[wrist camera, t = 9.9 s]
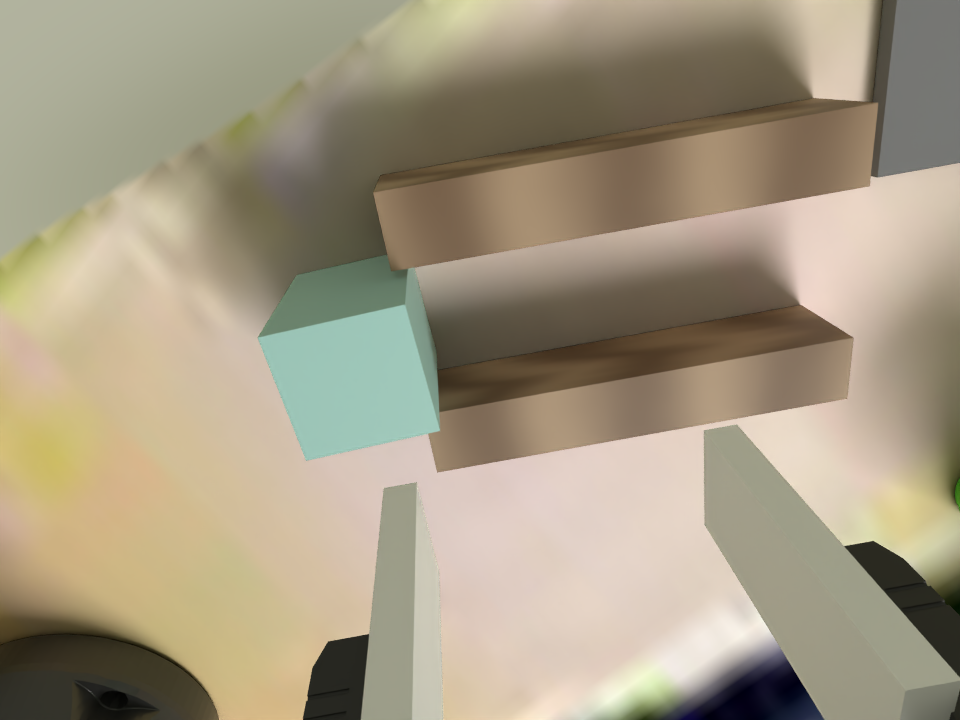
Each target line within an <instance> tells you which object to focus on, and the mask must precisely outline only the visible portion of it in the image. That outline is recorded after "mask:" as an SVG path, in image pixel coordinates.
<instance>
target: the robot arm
mask: <svg viewBox="0 0 960 720" xmlns="http://www.w3.org/2000/svg"><path fill="white" fill-rule="evenodd" d="M704 512H705V526H706V528H707V529H708V531H709V533H710V534H711V536H712V538H713V539H714V541H715V542H716V544H717V546H718V547H719V549H720V551H721V552H722V554H723V555H724V557H725V559H726V560H727V562H728V563H729V565H730V567H731V568H732V570H733V572H734V573H735V575H736V576H737V578H738V580H739V581H740V583H741V585H742V586H743V588H744V589H745V591H746V593H747V594H748V596H749V598H750V599H751V601H752V602H753V604H754V606H755V607H756V609H757V611H758V612H759V614H760V615H761V617H762V619H763V620H764V622H765V624H766V625H767V627H768V628H769V630H770V632H771V633H772V635H773V637H774V638H775V640H776V641H777V643H778V645H779V646H780V648H781V650H782V651H783V653H784V654H785V656H786V658H787V659H788V661H789V663H790V664H791V666H792V667H793V669H794V671H795V672H796V674H797V675H798V677H799V679H800V680H801V682H802V684H803V685H804V687H805V688H806V690H807V692H808V693H809V695H810V697H811V698H812V700H813V701H814V703H815V705H816V706H817V708H818V710H819V711H820V713H821V714H822V716H823V718H824V719H825V720H960V616H959V615H958V614H957V613H956V612H955V611H954V610H953V609H952V608H951V607H950V606H949V605H948V606H947V605H946V604H945V602H944V599H943V598H942V597H941V596H940V595H939V594H938V593H937V592H936V591H935V590H934V589H933V588H932V587H931V586H927V584H926V581H925V580H924V579H923V578H922V577H921V576H920V575H919V574H918V573H917V572H916V571H915V570H914V569H913V568H912V567H911V566H910V565H909V564H908V563H907V562H906V561H905V560H904V559H903V558H901V557H900V556H898V555H896V554H895V553H893V552H891V551H890V550H888V549H886V548H884V547H883V546H881V545H879V544H878V543H876V542H874V541H871V542H865V543H860V544H854V545H849V546H843V545H842V543H841V542H840V541H839V540H838V539H837V538H836V537H835V535H834V534H833V533H832V532H831V531H830V530H829V529H828V528H827V526H826V525H825V524H824V523H823V522H822V521H821V520H820V518H819V517H818V516H817V515H816V514H815V513H814V512H813V510H812V509H811V508H810V507H809V506H808V505H807V504H806V503H805V501H804V500H803V499H802V498H801V497H800V496H799V495H798V493H797V492H796V491H795V490H794V489H793V488H792V487H791V486H790V484H789V483H788V482H787V481H786V480H785V479H784V478H783V476H782V475H781V474H780V473H779V472H778V471H777V470H776V469H775V467H774V466H773V465H772V464H771V463H770V462H769V461H768V459H767V458H766V457H765V456H764V455H763V454H762V453H761V451H760V450H759V449H758V448H757V447H756V446H755V445H754V444H753V442H752V441H751V440H750V439H749V438H748V437H747V436H746V434H745V433H744V432H743V431H742V430H741V429H740V428H739V427H738V425H732V426H727V427H721V428H716V429H710V430H704ZM307 696H308V701H306V706H305V711H304V716H303V720H443V687H442V652H441V617H440V581H439V570H438V566H437V562H436V558H435V554H434V550H433V546H432V541H431V537H430V533H429V529H428V525H427V521H426V517H425V513H424V509H423V505H422V501H421V497H420V493H419V489H418V485H417V482H416V483H411V484H405V485H399V486H394V487H388V488H384V491H383V501H382V511H381V521H380V531H379V541H378V551H377V562H376V572H375V582H374V592H373V602H372V612H371V622H370V632H369V634H368V635H362V636H357V637H351V638H345V639H340V640H334V641H329V642H328V643H327V644H326V646H325V648H324V649H323V651H322V653H321V655H320V656H319V658H318V660H317V661H316V663H315V665H314V666H313V668H312V674H311V679H310V684H309V690H308V695H307ZM0 720H219V718H218V714H217V711H216V709H215V707H214V705H213V703H212V701H211V699H210V698H209V696H208V695H207V693H206V692H205V691H204V690H203V688H202V687H201V686H200V685H199V684H198V683H197V682H196V681H195V680H194V679H193V678H192V677H191V676H189V675H188V674H187V673H186V672H184V671H183V670H182V669H180V668H179V667H177V666H176V665H174V664H173V663H171V662H169V661H168V660H166V659H164V658H162V657H160V656H158V655H156V654H154V653H152V652H149V651H147V650H145V649H142V648H139V647H137V646H133V645H130V644H127V643H123V642H120V641H116V640H111V639H106V638H100V637H94V636H85V635H44V636H36V637H29V638H24V639H19V640H16V641H12V642H8V643H6V644H3V645H0Z"/></svg>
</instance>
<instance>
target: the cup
mask: <svg viewBox="0 0 960 720" xmlns="http://www.w3.org/2000/svg"><path fill="white" fill-rule="evenodd" d="M955 499H956V503H957V505H958V507H959V511H960V478H959V480H958V483H957V485H956V489H955Z"/></svg>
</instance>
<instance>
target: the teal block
mask: <svg viewBox="0 0 960 720" xmlns="http://www.w3.org/2000/svg"><path fill="white" fill-rule="evenodd" d="M258 340H259V342H260V345H261V347H262V350H263V353H264V355H265V358H266V360H267V363H268V365H269V368H270V370H271V373H272V375H273V378H274V380H275V383H276V385H277V388H278V390H279V393H280V395H281V398H282V400H283V403H284V406H285V408H286V411H287V413H288V416H289V418H290V421H291V423H292V426H293V428H294V431H295V433H296V436H297V438H298V441H299V443H300V446H301V448H302V451H303V454H304V456H305V459H306V461H307V460H312V459H316V458H321V457H325V456H330V455H334V454H339V453H343V452H348V451H352V450H357V449H361V448H366V447H370V446H375V445H379V444H384V443H388V442H393V441H397V440H402V439H406V438H411V437H415V436H420V435H424V434H429V433H433V432H438V431H440V418H439V395H438V372H437V352H436V348H435V344H434V341H433V337H432V333H431V329H430V325H429V322H428V318H427V314H426V310H425V306H424V303H423V299H422V295H421V291H420V287H419V284H418V280H417V276H416V272H415V268H408V269H403V270H397V271H392V272H391V269H390V264H389V260H388V256H387V255H383V256H378V257H374V258H370V259H365V260H361V261H356V262H352V263H347V264H343V265H339V266H334V267H330V268H325V269H321V270H317V271H312V272H308V273H303V274H299V275H296V277H295V278H294V280H293V282H292V283H291V285H290V286H289V288H288V290H287V291H286V293H285V294H284V296H283V298H282V299H281V301H280V303H279V304H278V306H277V307H276V309H275V311H274V312H273V314H272V315H271V317H270V319H269V320H268V322H267V323H266V325H265V327H264V328H263V330H262V331H261V333H260V335H259V336H258Z"/></svg>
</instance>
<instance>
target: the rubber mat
mask: <svg viewBox="0 0 960 720" xmlns="http://www.w3.org/2000/svg"><path fill="white" fill-rule="evenodd" d="M873 102H875V103H878V111H877V120H876V130H875V139H874V149H873V158H872V168H871V176H873V177H883V176H889V175H894V174H900V173H905V172H911V171H917V170H922V169H928V168H933V167H939V166H945V165H950V164H956V163H960V0H883V7H882V17H881V27H880V37H879V47H878V56H877V66H876V76H875V86H874V96H873Z"/></svg>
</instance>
